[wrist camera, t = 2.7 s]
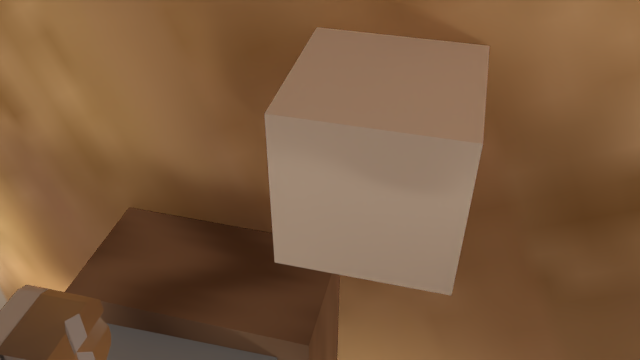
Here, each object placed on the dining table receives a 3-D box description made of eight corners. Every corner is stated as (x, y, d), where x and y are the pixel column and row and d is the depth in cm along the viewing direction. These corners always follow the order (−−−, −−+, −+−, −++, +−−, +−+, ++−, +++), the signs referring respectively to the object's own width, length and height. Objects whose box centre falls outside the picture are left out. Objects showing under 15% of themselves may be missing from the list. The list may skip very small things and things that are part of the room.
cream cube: (489, 44, 17) (482, 144, 13) (463, 182, 20) (451, 295, 16) (317, 26, 18) (264, 113, 14) (317, 160, 21) (274, 262, 17)
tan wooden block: (342, 240, 23) (308, 345, 19) (337, 374, 29) (311, 475, 25) (132, 203, 25) (63, 293, 21) (166, 336, 31) (117, 425, 27)
